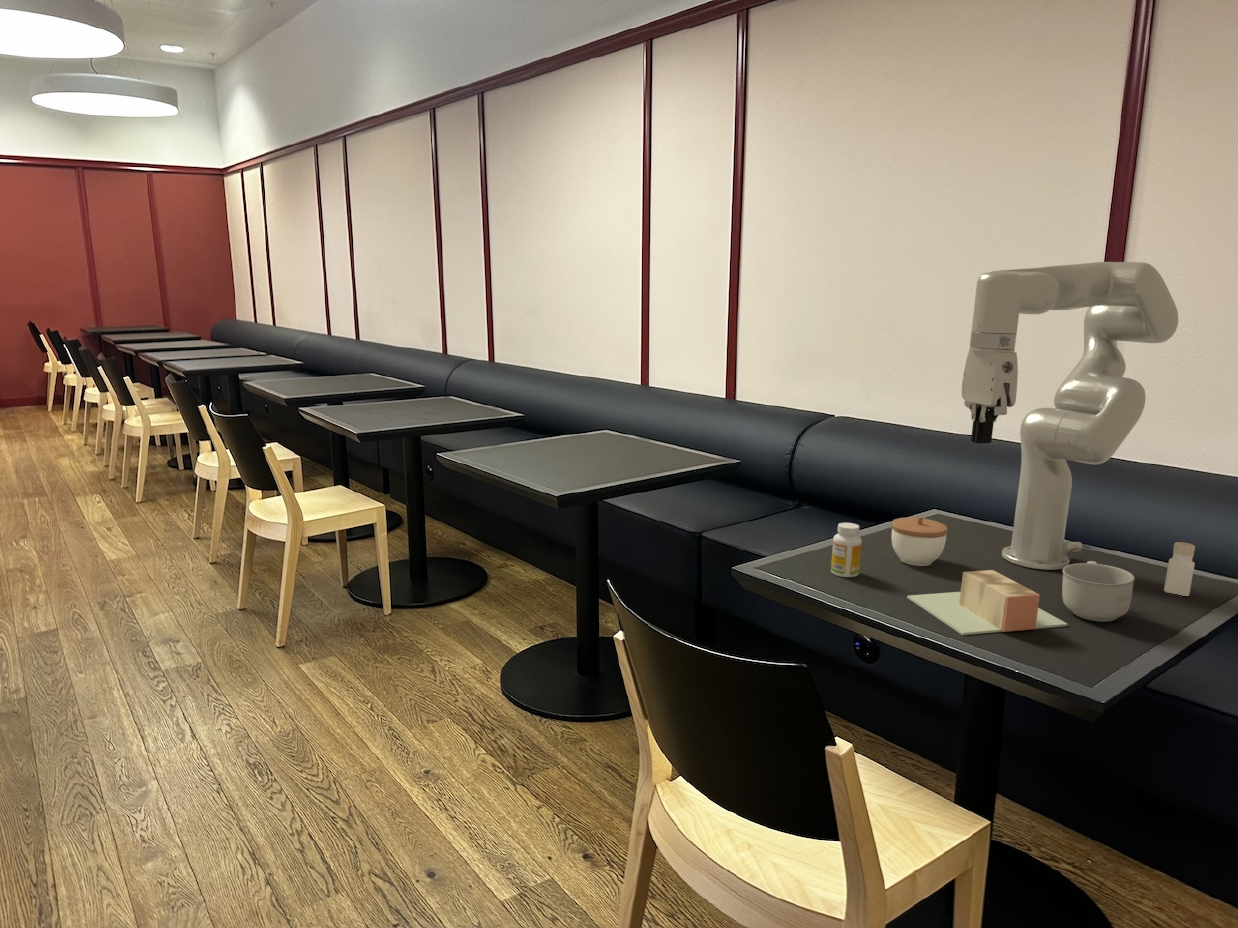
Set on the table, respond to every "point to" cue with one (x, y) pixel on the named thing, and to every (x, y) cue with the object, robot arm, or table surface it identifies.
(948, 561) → the table surface
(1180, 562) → the pepper shaker
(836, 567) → the supplement bottle
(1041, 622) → the sage mat
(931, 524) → the lidded jar
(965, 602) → the maple block
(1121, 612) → the teacup
